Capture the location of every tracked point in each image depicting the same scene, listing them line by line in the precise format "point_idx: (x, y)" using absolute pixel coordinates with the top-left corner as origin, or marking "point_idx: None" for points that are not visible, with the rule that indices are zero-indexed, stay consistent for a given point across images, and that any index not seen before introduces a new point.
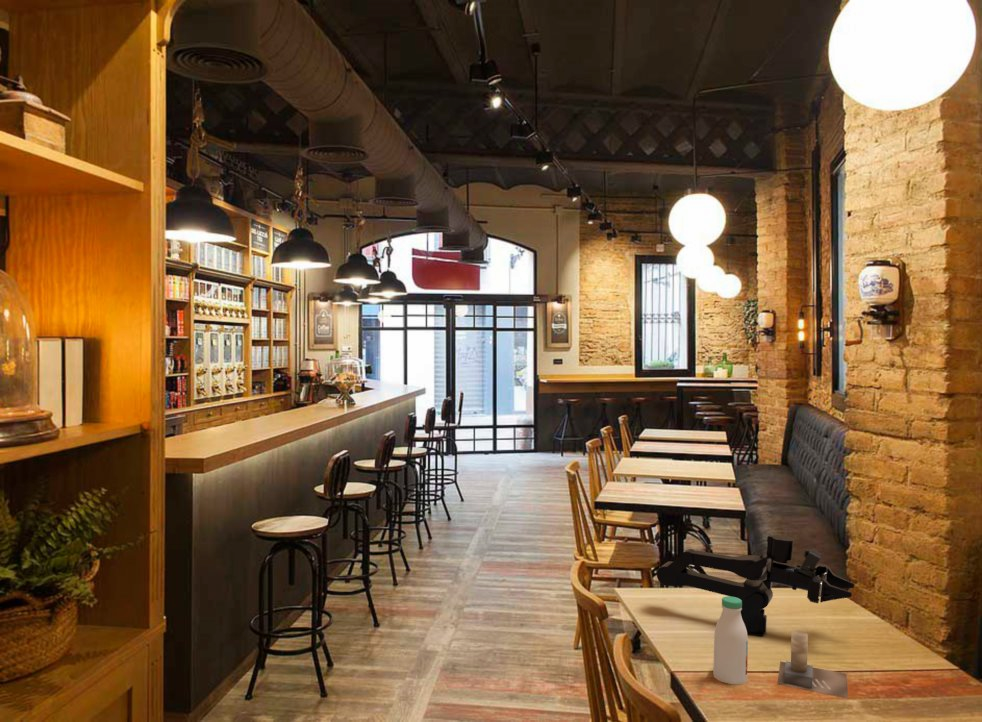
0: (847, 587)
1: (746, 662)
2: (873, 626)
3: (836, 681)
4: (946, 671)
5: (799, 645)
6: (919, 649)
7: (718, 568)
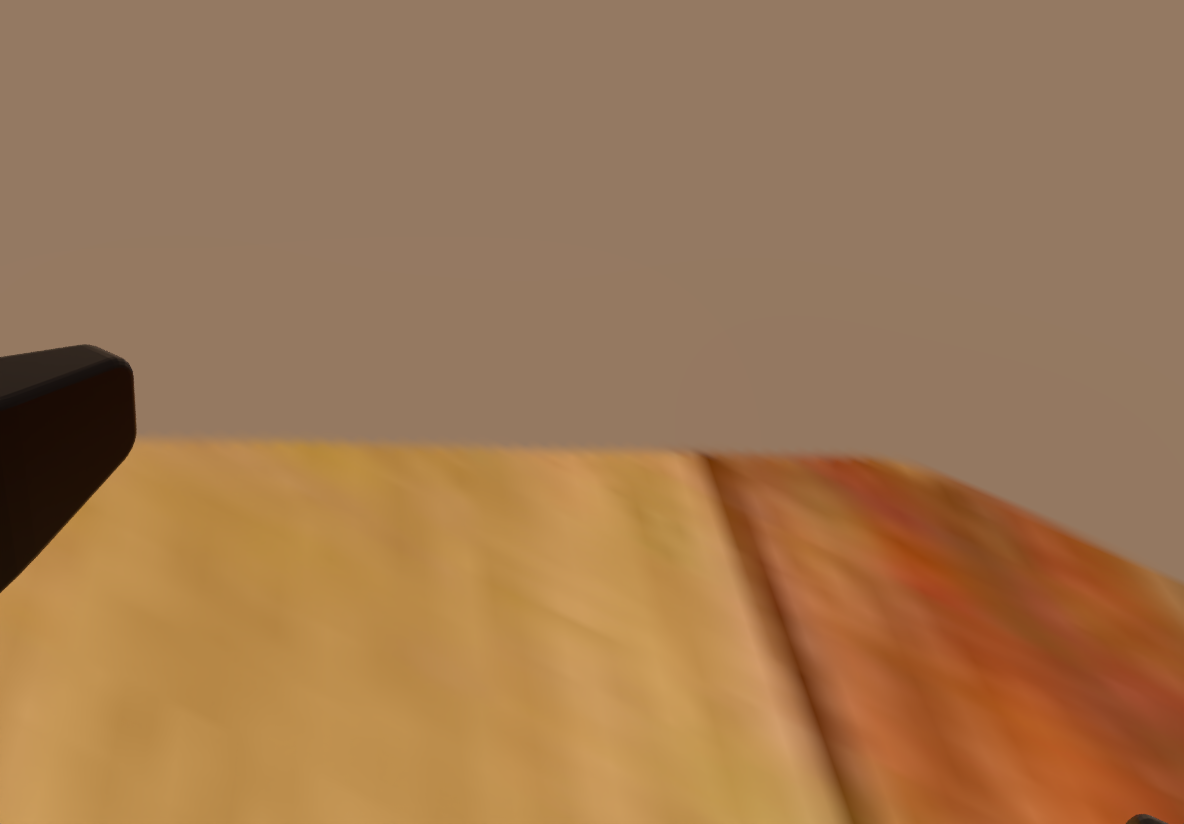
0: (12, 563)
1: None
2: None
3: None
4: (765, 507)
5: None
6: (342, 459)
7: None
